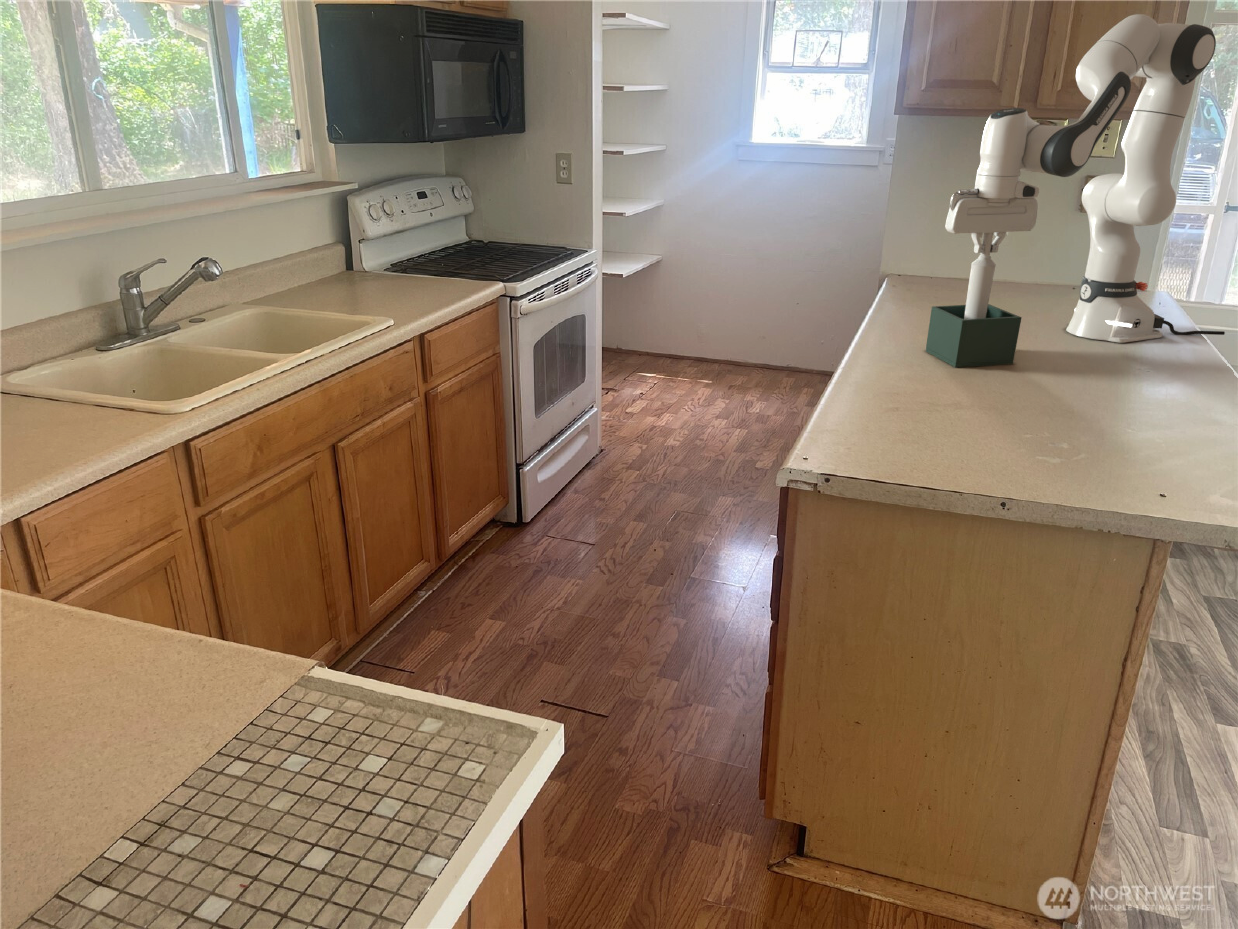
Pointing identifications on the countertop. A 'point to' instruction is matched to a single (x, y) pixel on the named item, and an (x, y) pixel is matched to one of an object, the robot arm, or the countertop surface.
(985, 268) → the bottle
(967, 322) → the bin
